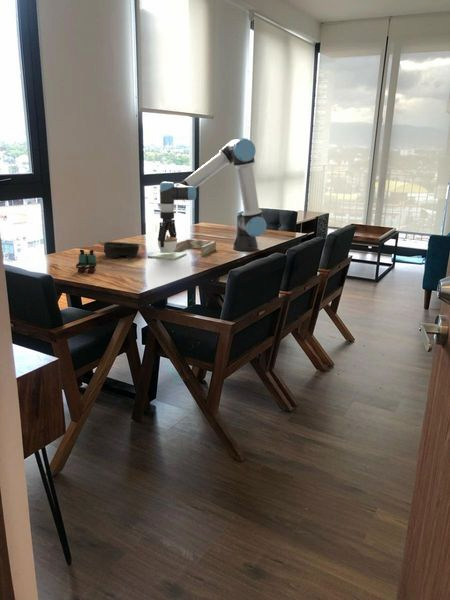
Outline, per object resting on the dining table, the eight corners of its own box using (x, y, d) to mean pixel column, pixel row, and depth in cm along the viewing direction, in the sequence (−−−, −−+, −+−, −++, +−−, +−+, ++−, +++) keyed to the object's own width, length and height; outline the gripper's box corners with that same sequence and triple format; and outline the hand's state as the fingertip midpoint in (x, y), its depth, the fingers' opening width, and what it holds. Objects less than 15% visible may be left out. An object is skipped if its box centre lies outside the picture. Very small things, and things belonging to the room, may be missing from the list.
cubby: (215, 249, 297) (215, 241, 296) (203, 255, 279) (203, 247, 278) (186, 246, 303) (186, 238, 302) (172, 252, 286) (172, 244, 284)
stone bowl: (100, 261, 259) (99, 243, 257) (99, 254, 283) (98, 238, 281) (147, 258, 266) (146, 241, 263) (142, 252, 289) (141, 237, 287)
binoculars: (73, 254, 229) (78, 248, 238) (75, 275, 233) (80, 268, 242) (92, 254, 229) (97, 248, 238) (94, 276, 233) (98, 269, 242)
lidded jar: (173, 254, 269) (173, 237, 267) (155, 253, 271) (154, 236, 269) (179, 250, 279) (179, 234, 277) (161, 249, 281) (161, 233, 279)
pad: (186, 254, 281) (186, 253, 280) (174, 260, 266) (174, 258, 266) (161, 252, 286) (161, 250, 286) (147, 257, 271) (147, 255, 271)
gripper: (170, 208, 280) (170, 246, 287) (150, 213, 260) (151, 254, 266) (182, 209, 278) (182, 248, 284) (163, 214, 257) (164, 255, 264)
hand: (167, 251), depth 275 cm, fingers closed on lidded jar, 11 cm apart
